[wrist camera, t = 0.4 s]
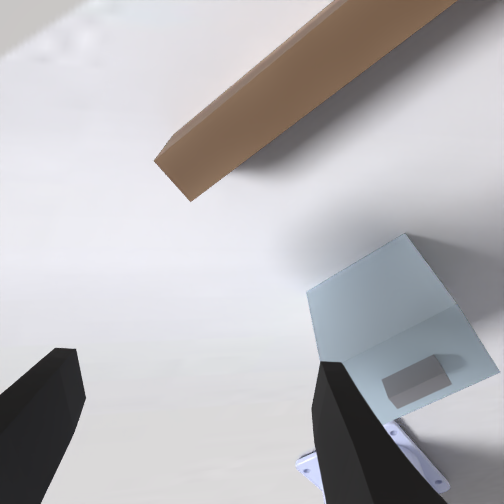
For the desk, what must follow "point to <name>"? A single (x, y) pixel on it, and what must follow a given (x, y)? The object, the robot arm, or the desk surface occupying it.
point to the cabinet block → (397, 331)
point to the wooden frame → (289, 86)
